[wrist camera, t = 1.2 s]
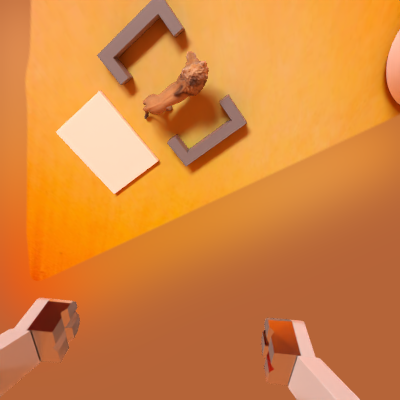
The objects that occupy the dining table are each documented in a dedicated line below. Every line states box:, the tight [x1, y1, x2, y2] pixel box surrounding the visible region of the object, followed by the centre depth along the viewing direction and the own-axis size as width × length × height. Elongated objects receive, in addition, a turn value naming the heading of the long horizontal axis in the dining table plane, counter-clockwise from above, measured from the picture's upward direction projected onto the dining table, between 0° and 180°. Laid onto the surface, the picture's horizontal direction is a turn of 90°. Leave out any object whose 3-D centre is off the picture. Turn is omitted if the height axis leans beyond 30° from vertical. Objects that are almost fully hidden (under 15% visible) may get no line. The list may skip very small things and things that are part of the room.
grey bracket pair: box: [97, 0, 247, 166], centre depth 39 cm, size 11×19×2 cm, turn 37°
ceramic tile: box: [56, 91, 159, 194], centre depth 44 cm, size 10×13×1 cm
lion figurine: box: [143, 51, 208, 119], centre depth 37 cm, size 12×4×7 cm, turn 130°
